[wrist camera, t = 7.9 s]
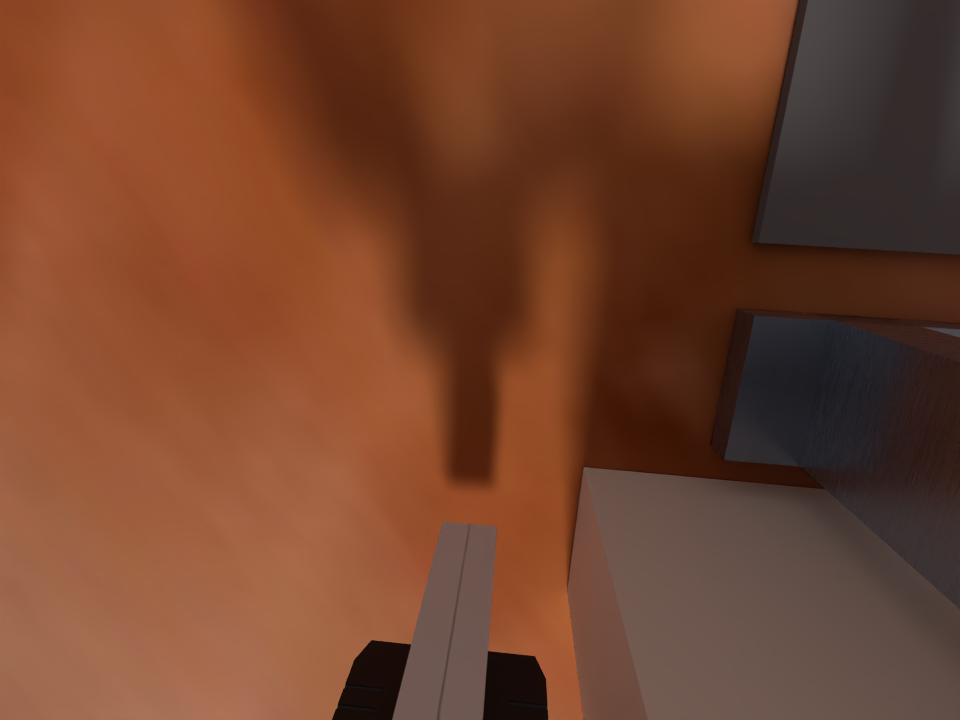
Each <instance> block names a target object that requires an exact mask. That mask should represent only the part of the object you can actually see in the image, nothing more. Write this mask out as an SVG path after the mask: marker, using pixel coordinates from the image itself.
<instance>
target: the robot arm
mask: <svg viewBox="0 0 960 720" xmlns="http://www.w3.org/2000/svg"><path fill="white" fill-rule="evenodd" d="M496 535H497V527H496V526H485V525H475V524H464V523H453V522H442V526H441V530H440V534H439V538H438V542H437V546H436V550H435V554H434V557H433V561H432V565H431V569H430V573H429V577H428V581H427V585H426V589H425V593H424V597H423V601H422V605H421V609H420V612H419V616H418V620H417V624H416V628H415V632H414V636H413V640H412V644H401V643H392V642H383V641H373V640H371V642H370V643H369V644H368V645H367V646H366V647H365V648H364V649H363V651H362V652H361V653H360V654H359V655H358V656H357V657H356V659H355V660H354V662H353V665H352V668H351V670H350V673H349V676H348V678H347V681H346V684H345V689H343V692H342V694H341V697H340V700H339V702H338V707H337V709H336V711H335V713H334V716H333V719H332V720H548V710H547V689H546V678H545V676H544V674H543V672H542V670H541V668H540V666H539V664H538V662H537V660H536V658H535V656H527V655H518V654H509V653H499V652H490V651H488V644H489V630H490V617H491V603H492V590H493V576H494V562H495V549H496Z"/></svg>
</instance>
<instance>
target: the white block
mask: <svg viewBox="0 0 960 720" xmlns="http://www.w3.org/2000/svg"><path fill="white" fill-rule="evenodd" d="M567 594H568V602H569V610H570V618H571V626H572V633H573V641H574V649H575V657H576V665H577V673H578V680H579V688H580V696H581V704H582V712H583V720H960V609H959V608H958V607H957V606H955V605H954V604H953V603H952V602H951V601H950V600H949V599H948V598H947V597H945V596H944V595H943V594H942V593H941V592H940V591H939V590H938V589H936V588H935V587H934V586H933V585H932V584H931V583H930V582H929V581H928V580H926V579H925V578H924V577H923V576H922V575H921V574H920V573H919V572H917V571H916V570H915V569H914V568H913V567H912V566H911V565H910V564H908V563H907V562H906V561H905V560H904V559H903V558H902V557H901V556H900V555H898V554H897V553H896V552H895V551H894V550H893V549H892V548H891V547H889V546H888V545H887V544H886V543H885V542H884V541H883V540H882V539H881V538H879V537H878V536H877V535H876V534H875V533H874V532H873V531H872V530H870V529H869V528H868V527H867V526H866V525H865V524H864V523H863V522H861V521H860V520H859V519H858V518H857V517H856V516H855V515H854V514H853V513H851V512H850V511H849V510H848V509H847V508H846V507H845V506H844V505H842V504H841V503H840V502H839V501H838V500H837V499H836V498H835V497H834V496H832V495H831V494H830V493H829V492H828V491H827V490H826V489H818V488H807V487H796V486H785V485H774V484H763V483H752V482H741V481H730V480H719V479H708V478H697V477H686V476H675V475H665V474H654V473H643V472H632V471H621V470H610V469H599V468H588V467H584V468H583V475H582V483H581V490H580V498H579V505H578V513H577V520H576V528H575V535H574V543H573V551H572V558H571V566H570V573H569V581H568V588H567Z"/></svg>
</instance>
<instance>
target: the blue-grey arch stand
mask: <svg viewBox="0 0 960 720" xmlns="http://www.w3.org/2000/svg"><path fill="white" fill-rule="evenodd" d="M711 445H712V446H713V447H714V449H715V450H716V451H717V452H718V453H719V455H720V456H721V457H722V458H723V459H724V460H728V461H740V462H752V463H764V464H776V465H788V466H800V467H801V468H802V469H803V470H804V471H806V472H807V473H808V474H809V475H810V476H811V477H812V478H813V479H814V480H816V481H817V482H818V483H819V484H820V485H821V486H822V487H823V488H825V489H826V490H827V491H828V492H829V493H830V494H831V495H832V496H834V497H835V498H836V499H837V500H838V501H839V502H840V503H841V504H842V505H844V506H845V507H846V508H847V509H848V510H849V511H850V512H851V513H853V514H854V515H855V516H856V517H857V518H858V519H859V520H860V521H861V522H863V523H864V524H865V525H866V526H867V527H868V528H869V529H870V530H872V531H873V532H874V533H875V534H876V535H877V536H878V537H879V538H881V539H882V540H883V541H884V542H885V543H886V544H887V545H888V546H889V547H891V548H892V549H893V550H894V551H895V552H896V553H897V554H898V555H900V556H901V557H902V558H903V559H904V560H905V561H906V562H907V563H908V564H910V565H911V566H912V567H913V568H914V569H915V570H916V571H917V572H919V573H920V574H921V575H922V576H923V577H924V578H925V579H926V580H928V581H929V582H930V583H931V584H932V585H933V586H934V587H935V588H936V589H938V590H939V591H940V592H941V593H942V594H943V595H944V596H945V597H947V598H948V599H949V600H950V601H951V602H952V603H953V604H954V605H955V606H957V607H958V608H959V609H960V323H946V322H931V321H916V320H901V319H886V318H871V317H856V316H841V315H826V314H811V313H796V312H781V311H766V310H752V309H738V311H737V316H736V321H735V326H734V331H733V336H732V341H731V346H730V351H729V356H728V361H727V366H726V371H725V376H724V381H723V386H722V391H721V396H720V401H719V406H718V411H717V416H716V421H715V426H714V431H713V436H712V441H711Z"/></svg>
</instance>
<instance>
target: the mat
mask: <svg viewBox="0 0 960 720" xmlns="http://www.w3.org/2000/svg"><path fill="white" fill-rule="evenodd" d="M752 242H756V243H770V244H787V245H804V246H821V247H837V248H854V249H871V250H888V251H904V252H921V253H938V254H955V255H960V0H800V3H799V8H798V13H797V18H796V23H795V28H794V33H793V38H792V43H791V48H790V53H789V58H788V63H787V67H786V72H785V77H784V82H783V87H782V92H781V97H780V102H779V107H778V112H777V117H776V122H775V127H774V132H773V137H772V142H771V147H770V152H769V157H768V162H767V167H766V172H765V177H764V182H763V187H762V192H761V197H760V202H759V207H758V212H757V217H756V222H755V227H754V232H753V237H752Z"/></svg>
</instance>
